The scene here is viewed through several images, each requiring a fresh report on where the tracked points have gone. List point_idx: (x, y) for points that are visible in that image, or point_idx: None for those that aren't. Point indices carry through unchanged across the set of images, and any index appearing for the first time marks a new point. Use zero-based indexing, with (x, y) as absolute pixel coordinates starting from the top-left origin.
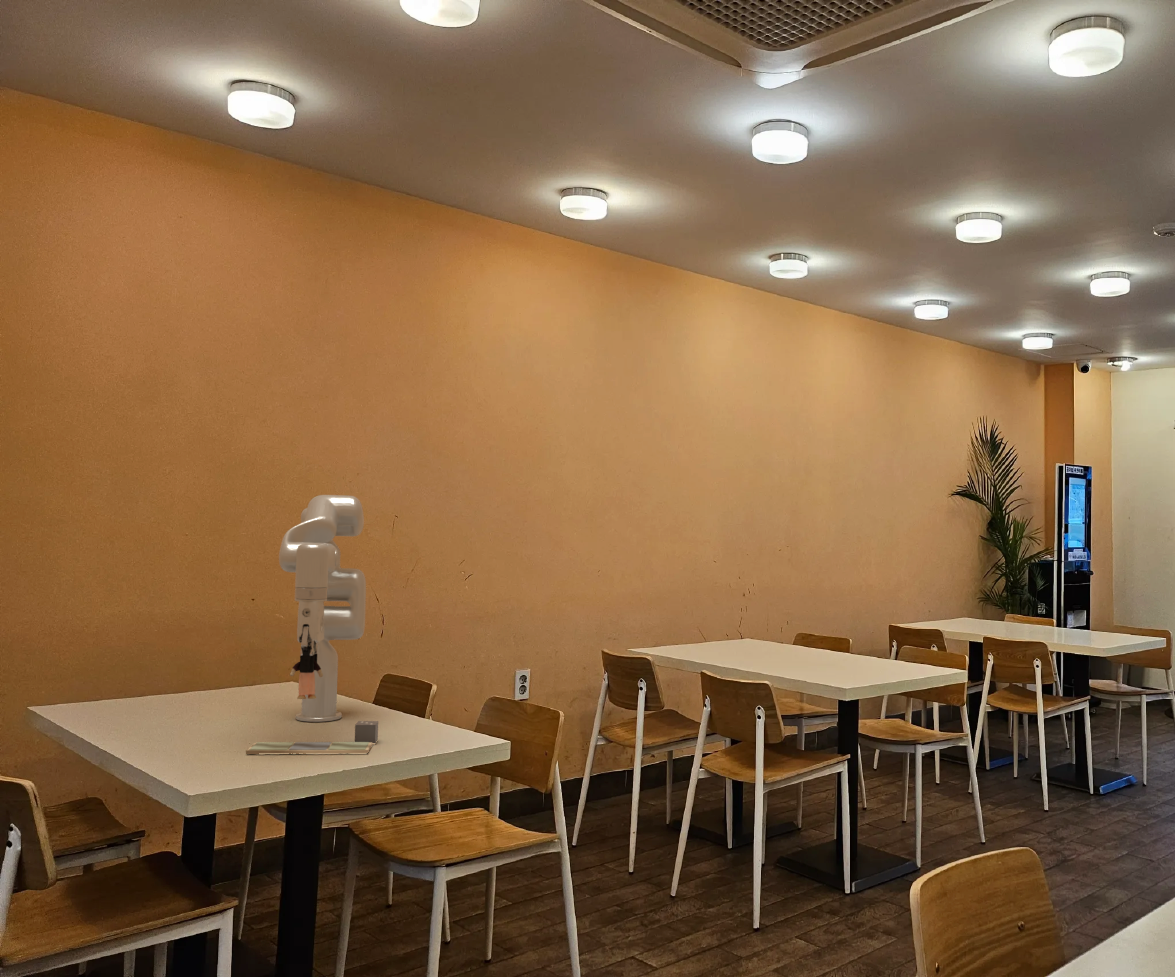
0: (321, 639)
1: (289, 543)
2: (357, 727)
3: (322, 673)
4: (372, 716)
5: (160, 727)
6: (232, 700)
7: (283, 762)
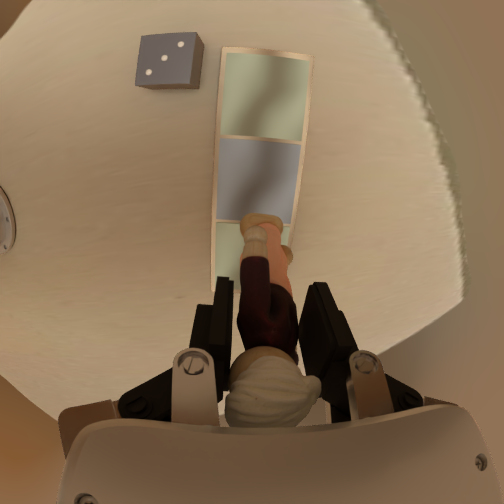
0: (302, 439)
1: None
2: (191, 78)
3: (256, 233)
4: None
5: (103, 386)
6: None
7: (354, 222)
